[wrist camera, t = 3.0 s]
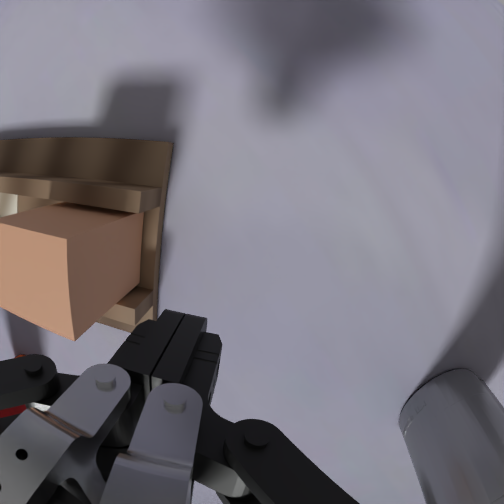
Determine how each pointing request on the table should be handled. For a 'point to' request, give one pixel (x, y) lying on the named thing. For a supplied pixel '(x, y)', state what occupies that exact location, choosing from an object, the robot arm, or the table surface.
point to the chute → (96, 196)
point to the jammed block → (68, 264)
